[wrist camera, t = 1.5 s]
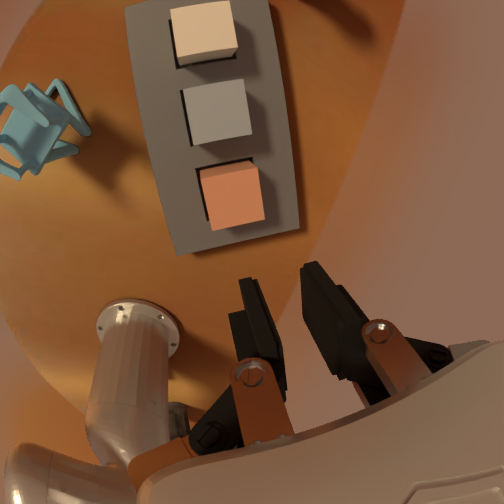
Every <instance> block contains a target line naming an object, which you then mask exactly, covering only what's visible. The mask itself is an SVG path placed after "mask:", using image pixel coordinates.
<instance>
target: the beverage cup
mask: <svg viewBox="0 0 504 504" xmlns="http://www.w3.org/2000/svg"><path fill="white" fill-rule="evenodd" d="M168 411H169V438H170V441H171V440H174V439H176V438H178V437H180V438H183V437H185V436H187V435H189V433H190V426H189V420H188V415H187V411H186V406H185V405H184V404H182V403H179V402H168Z"/></svg>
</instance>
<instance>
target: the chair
mask: <svg viewBox="0 0 504 504" xmlns="http://www.w3.org/2000/svg"><path fill="white" fill-rule="evenodd" d="M56 88H57V89H58V91H59V94H60V96H61V98H62V100H63V103H64V105H65V107H66V109H67V110H66V109H65V108H64V107H62V106H61V105H60V104H58V103H57V102H56V101H54V100H53V99H52V98H50V96H51V95H52V93H53V92H54V90H55V89H56ZM7 104H9V105H11V106H12V107H13V108H14V110H13V111H12V113H11V115H10V117H9V119H8V121H7V123H6V124H5V126H4V128H3V130H2V132H1V134H0V144H1V145H2V146H3V147H4V148H5V149H6V150H7V151H9V152H10V153H11V154H12V155H13V156H14V157H15V158H16V159H18V160H19V161H20V162H21V163H22V164H23V165H22V166H21V168H20V169H19V168H16V167H14V166H11V165H9V164H7V163H5V162H4V161H2V160H1V159H0V174H3V175H6V176H9V177H11V178H13V179H15V180H17V181H20V179H21V177H22V175H23V174H24V173H25V171H26V170H29V171H30V172H31V173H32V174H33V175H35V176H36V175H38V174H39V173H40V171H41V169H42V168H43V166H44V164H46V163H48V162H51V161H54V160H57V159H60V158H63V157H66V156H70V155H75V154H78V152H79V149H78V147H77V146H75V145H73V144H71V143H69V142H66V141H63V140H59V137H60V136H61V134H62V133H63V132H64V130H65V129H66V127H67V126H68V124H70V125H71V126H72V127H73V128H74V129H75V130H76V131H77V132H78V133H79V134H80V135H82V136H90V135H91V129H90V128H89V127H88V125H87V124H86V122H85V121H84V119H83V118H82V116H81V114H80V112H79V111H78V109H77V107H76V105H75V103H74V101H73V99H72V98H71V96H70V94H69V92H68V90H67V88H66V86H65V85H64V83H63V82H62V81H61V80H60V79H55V80H54V81H53V82H52V83H51V85H50V86H49V88H48V89H47V91H46V92H45V93H44V92H43V91H42V90H41V89H40V88H38V87H37V86H36V85H35V84H34V83H28V85H27V87H26V88H25V90H24V91H21V90H20V89H19V88H18V87H17V86H16V85H13V84H11V85H9V86H7V87H6V88H5V89H4V90H3V91H2V92H1V94H0V115H1V114H2V112H3V110H4V109H5V107H6V106H7ZM53 147H54V148H55V149H53Z"/></svg>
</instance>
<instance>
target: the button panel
mask: <svg viewBox="0 0 504 504" xmlns="http://www.w3.org/2000/svg"><path fill="white" fill-rule="evenodd" d="M219 1H230V7H231V12H232V17H233V23H234V28H235V34H236V40H237V45H238V48H237V49H236V51H235V52H234V54H233V55H232V57H226V58H219V59H213V60H207V61H201V62H196V63H191V64H186V65H181V66H180V65H179V61H178V58H177V52H176V45H175V39H174V33H173V26H172V19H171V12H170V9H175V8H180V7H185V6H191V5H197V4H203V3H211V2H219ZM125 19H126V28H127V36H128V44H129V52H130V59H131V65H132V72H133V78H134V84H135V89H136V95H137V100H138V106H139V111H140V116H141V121H142V126H143V130H144V135H145V140H146V144H147V148H148V153H149V157H150V161H151V165H152V169H153V173H154V177H155V181H156V185H157V189H158V193H159V197H160V200H161V204H162V208H163V211H164V215H165V218H166V222H167V225H168V229H169V232H170V235H171V239H172V242H173V245H174V249H175V252H176V255H177V256H180V255H184V254H189V253H193V252H197V251H201V250H206V249H210V248H214V247H219V246H223V245H227V244H232V243H236V242H241V241H245V240H249V239H254V238H258V237H263V236H267V235H272V234H276V233H281V232H285V231H290V230H294V229H299V228H300V226H299V214H298V203H297V192H296V182H295V173H294V164H293V155H292V146H291V138H290V130H289V123H288V115H287V108H286V101H285V94H284V88H283V81H282V75H281V69H280V63H279V57H278V51H277V45H276V40H275V35H274V29H273V24H272V19H271V14H270V9H269V4H268V0H149V1H145V2H141V3H138V4H134V5H131V6H128V7H125ZM238 79H243V80H244V86H245V92H246V98H247V104H248V111H249V117H250V123H251V129H252V134H251V135H245V136H239V137H233V138H228V139H223V140H218V141H213V142H208V143H203V144H199V145H193V140H192V135H191V130H190V125H189V119H188V114H187V109H186V104H185V98H184V93H183V89H187V88H192V87H196V86H202V85H207V84H212V83H218V82H224V81H231V80H238ZM243 161H250V162H251V163H253V164H254V165H255V166H256V167H257V168H258V175H259V182H260V189H261V195H262V202H263V209H264V216H265V220H260V221H255V222H251V223H246V224H242V225H237V226H233V227H228V228H224V229H219V230H215V231H212V228H211V224H210V219H209V215H208V211H207V206H206V202H205V197H204V193H203V188H202V183H201V178H200V170H204V169H209V168H213V167H218V166H223V165H228V164H233V163H238V162H243Z"/></svg>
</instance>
